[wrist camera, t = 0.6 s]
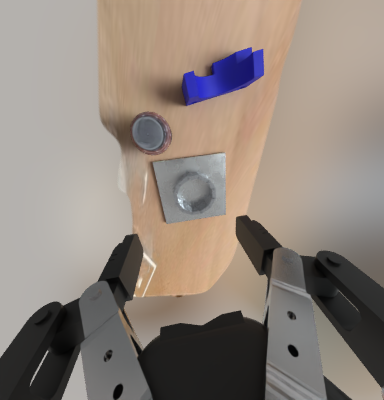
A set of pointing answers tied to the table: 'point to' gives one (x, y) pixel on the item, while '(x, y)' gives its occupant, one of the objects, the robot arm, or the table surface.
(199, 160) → the duct panel
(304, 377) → the robot arm
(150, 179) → the table surface
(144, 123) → the supplement bottle
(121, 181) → the table surface
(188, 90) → the blue notched bracket
